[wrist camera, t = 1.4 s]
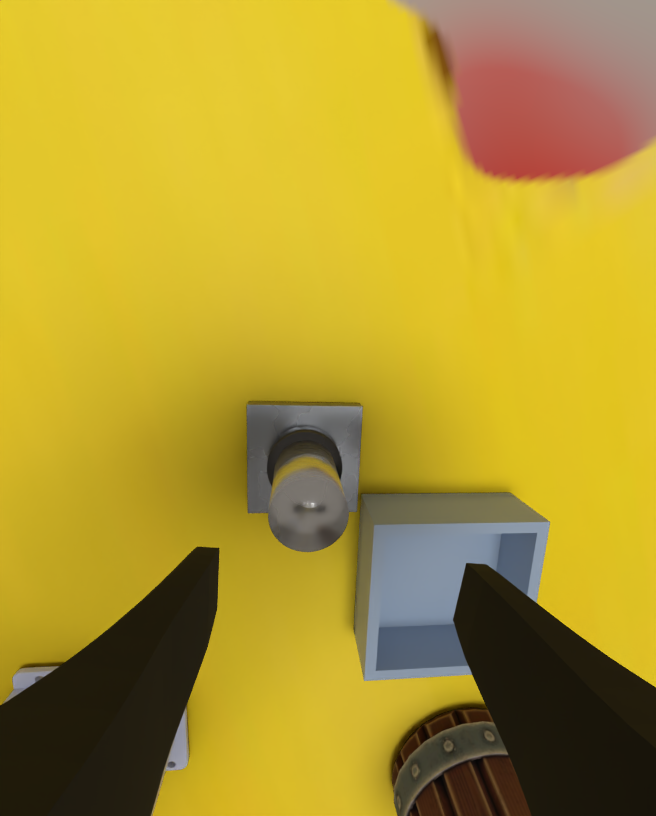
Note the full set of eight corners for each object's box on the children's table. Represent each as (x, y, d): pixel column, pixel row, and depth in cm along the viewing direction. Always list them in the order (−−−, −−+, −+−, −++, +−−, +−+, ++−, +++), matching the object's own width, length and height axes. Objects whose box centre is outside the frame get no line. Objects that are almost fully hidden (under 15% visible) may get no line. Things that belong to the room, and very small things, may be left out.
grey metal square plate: (249, 504, 21) (247, 513, 20) (248, 401, 19) (246, 404, 18) (353, 503, 21) (356, 511, 20) (359, 402, 20) (362, 406, 19)
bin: (353, 629, 23) (364, 680, 20) (361, 493, 21) (374, 524, 18) (491, 623, 24) (524, 671, 20) (510, 492, 22) (550, 521, 19)
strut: (268, 494, 20) (257, 562, 14) (268, 425, 19) (256, 467, 13) (338, 493, 20) (356, 560, 14) (341, 426, 19) (361, 467, 13)
